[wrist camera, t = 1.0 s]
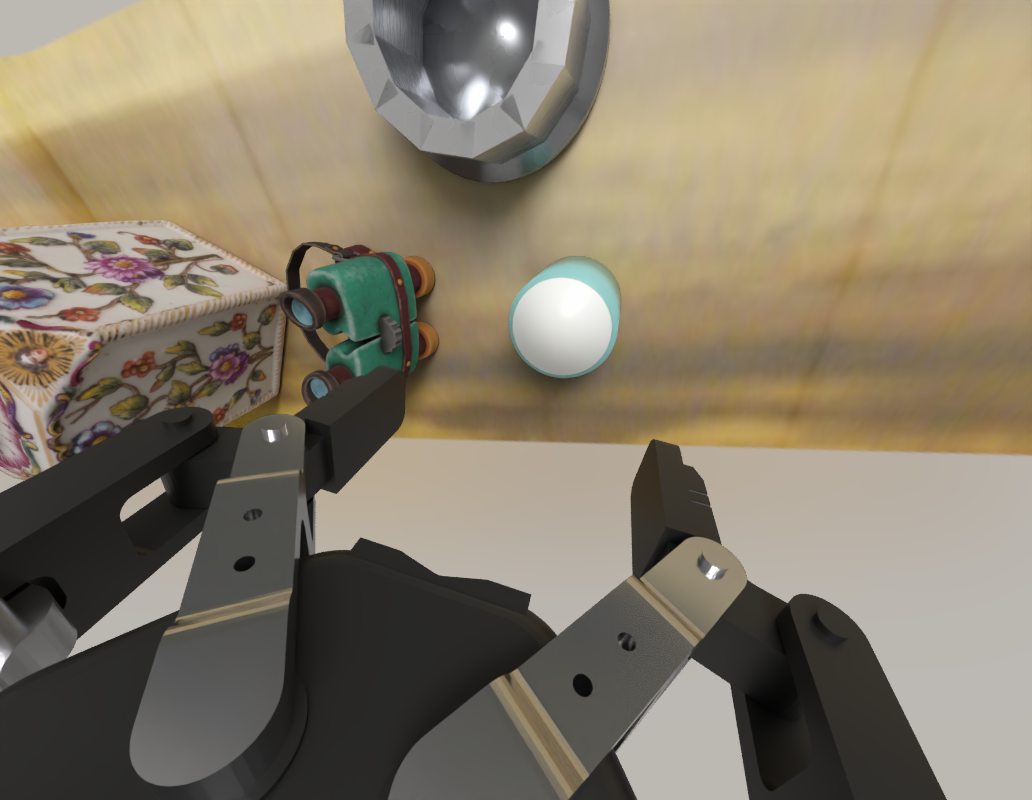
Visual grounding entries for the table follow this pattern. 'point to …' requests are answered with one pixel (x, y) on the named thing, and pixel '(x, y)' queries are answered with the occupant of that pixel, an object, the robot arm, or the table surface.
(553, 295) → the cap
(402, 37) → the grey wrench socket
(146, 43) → the table surface
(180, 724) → the robot arm
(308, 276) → the binoculars
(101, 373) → the decorative jar
